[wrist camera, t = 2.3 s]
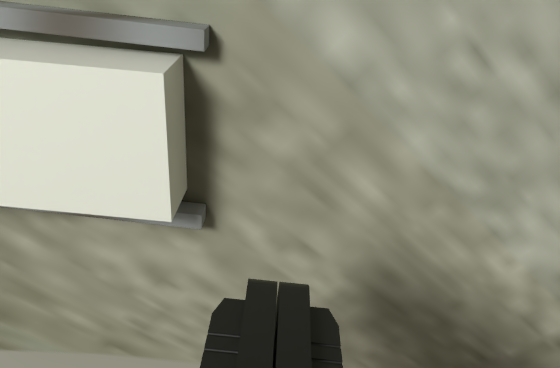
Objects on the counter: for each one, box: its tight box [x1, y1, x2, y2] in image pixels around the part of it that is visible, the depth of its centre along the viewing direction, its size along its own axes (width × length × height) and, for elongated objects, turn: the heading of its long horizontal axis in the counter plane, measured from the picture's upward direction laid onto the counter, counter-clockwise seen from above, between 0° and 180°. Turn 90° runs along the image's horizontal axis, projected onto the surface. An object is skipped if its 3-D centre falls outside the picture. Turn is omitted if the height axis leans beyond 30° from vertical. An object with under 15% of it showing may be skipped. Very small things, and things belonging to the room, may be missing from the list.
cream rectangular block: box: [0, 38, 187, 222], centre depth 19 cm, size 12×6×3 cm, turn 86°
